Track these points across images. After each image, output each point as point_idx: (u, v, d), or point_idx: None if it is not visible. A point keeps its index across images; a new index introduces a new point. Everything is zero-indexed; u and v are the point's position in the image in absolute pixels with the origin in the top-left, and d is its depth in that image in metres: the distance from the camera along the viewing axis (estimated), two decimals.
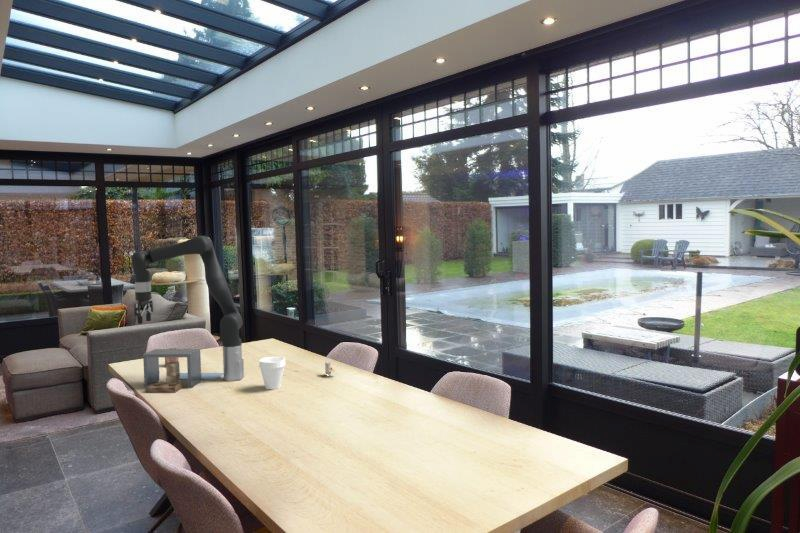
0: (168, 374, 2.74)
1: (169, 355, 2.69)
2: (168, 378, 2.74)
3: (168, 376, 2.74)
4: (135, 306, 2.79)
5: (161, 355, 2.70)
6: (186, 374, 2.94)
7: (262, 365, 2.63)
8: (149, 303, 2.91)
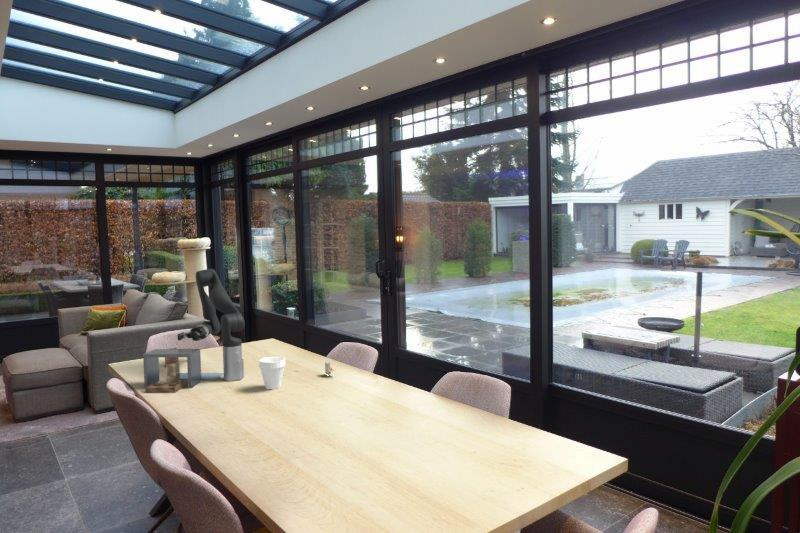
0: (168, 374, 2.74)
1: (169, 355, 2.69)
2: (168, 378, 2.74)
3: (168, 376, 2.74)
4: None
5: (161, 355, 2.70)
6: (186, 374, 2.94)
7: (262, 365, 2.63)
8: (203, 334, 3.01)
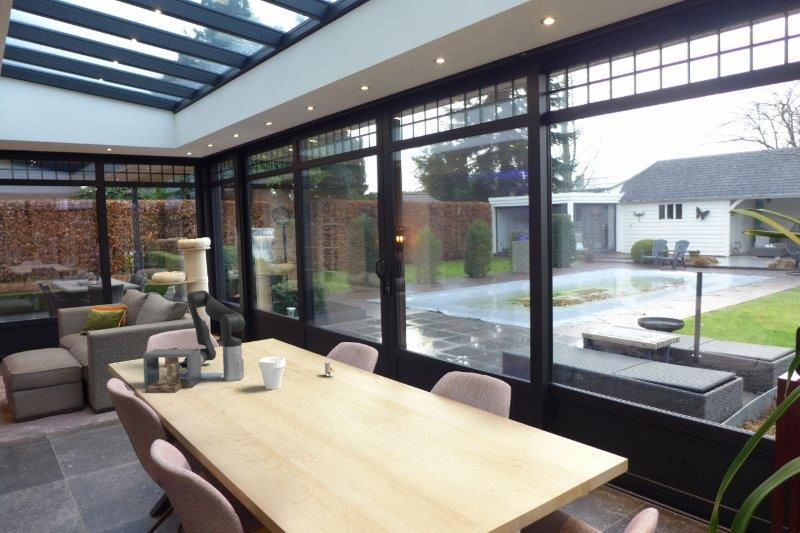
0: (168, 374, 2.74)
1: (169, 355, 2.69)
2: (168, 378, 2.74)
3: (168, 376, 2.74)
4: None
5: (161, 355, 2.70)
6: (186, 374, 2.94)
7: (262, 365, 2.63)
8: None
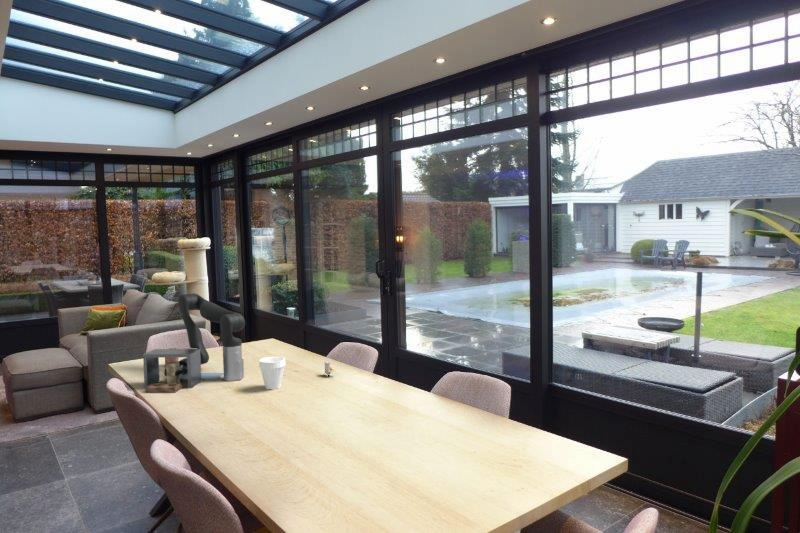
0: (168, 374, 2.74)
1: (169, 355, 2.69)
2: (168, 378, 2.74)
3: (168, 376, 2.74)
4: None
5: (161, 355, 2.70)
6: (186, 374, 2.94)
7: (262, 365, 2.63)
8: None
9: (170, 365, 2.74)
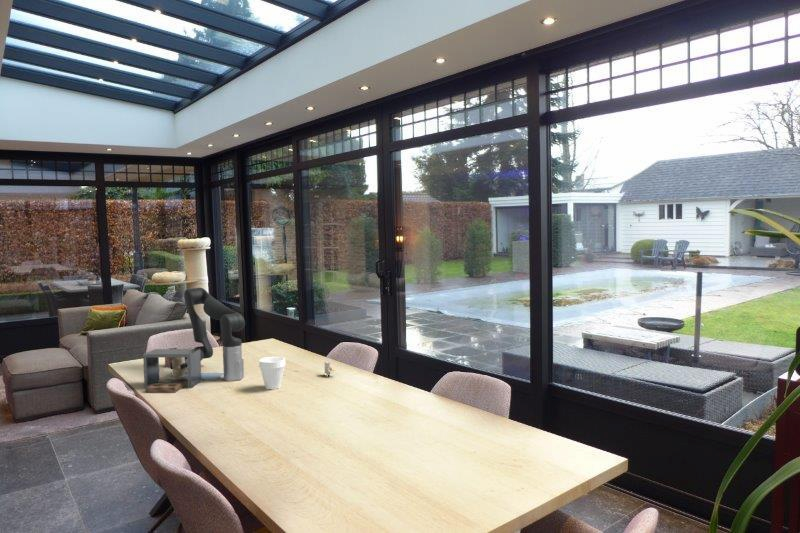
0: (174, 367, 2.80)
1: (169, 355, 2.69)
2: (174, 371, 2.80)
3: (174, 369, 2.80)
4: None
5: (161, 355, 2.70)
6: (186, 374, 2.94)
7: (262, 365, 2.63)
8: None
9: (176, 358, 2.80)
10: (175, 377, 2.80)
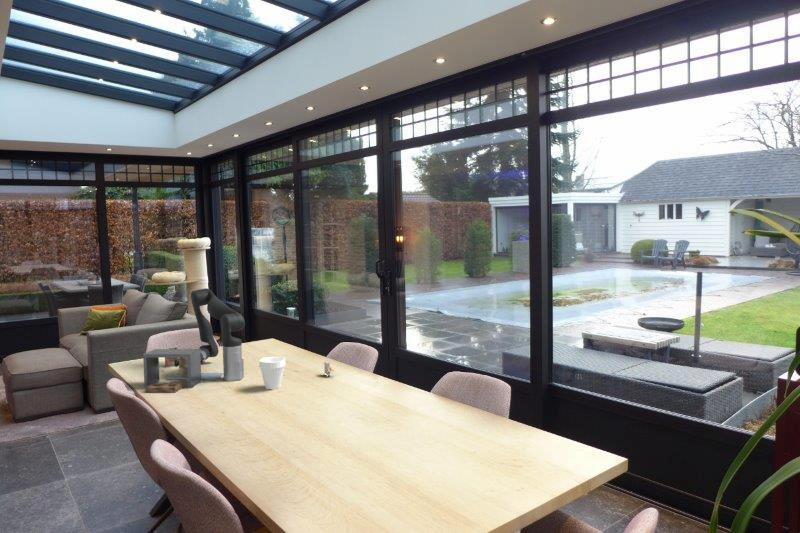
0: (181, 366, 2.88)
1: (169, 355, 2.69)
2: (181, 370, 2.88)
3: (181, 368, 2.88)
4: None
5: (161, 355, 2.70)
6: None
7: (262, 365, 2.63)
8: None
9: (183, 357, 2.87)
10: (182, 376, 2.88)
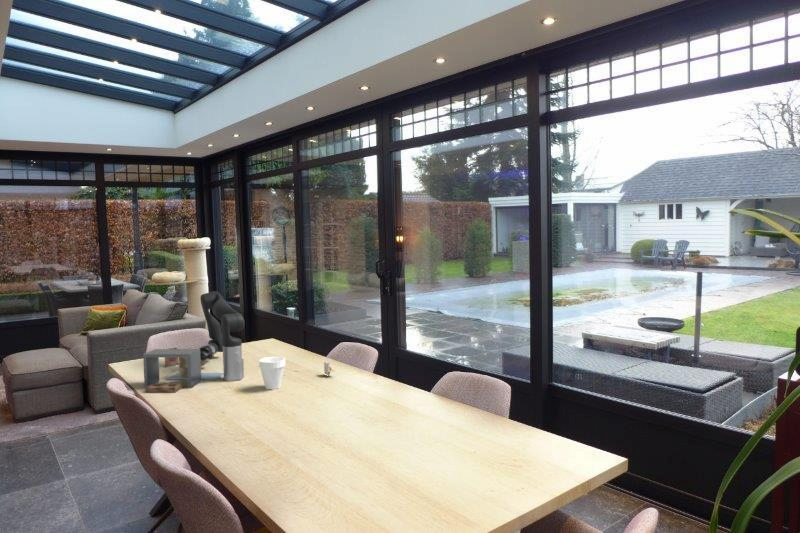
0: (181, 366, 2.88)
1: (169, 355, 2.69)
2: (181, 370, 2.88)
3: (181, 368, 2.88)
4: None
5: (161, 355, 2.70)
6: None
7: (262, 365, 2.63)
8: (210, 354, 3.10)
9: (183, 357, 2.87)
10: (182, 376, 2.88)
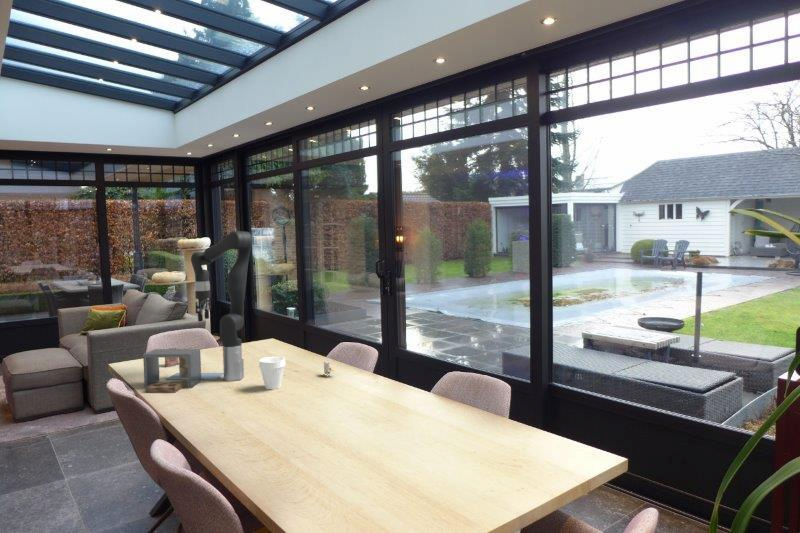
0: (181, 366, 2.88)
1: (169, 355, 2.69)
2: (181, 370, 2.88)
3: (181, 368, 2.88)
4: (196, 304, 2.92)
5: (161, 355, 2.70)
6: None
7: (262, 365, 2.63)
8: (207, 301, 3.04)
9: (183, 357, 2.87)
10: (182, 376, 2.88)
